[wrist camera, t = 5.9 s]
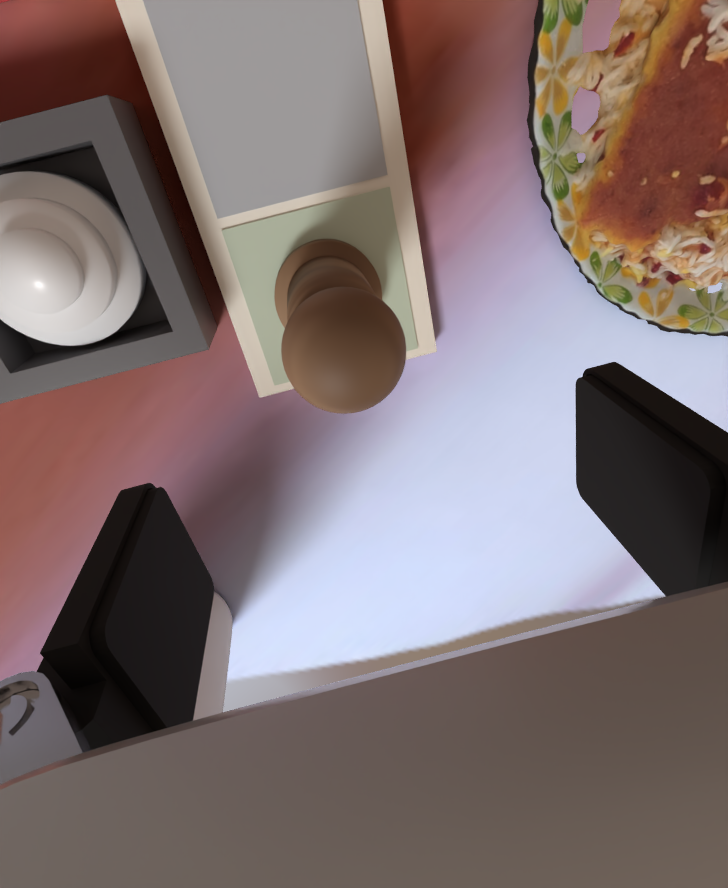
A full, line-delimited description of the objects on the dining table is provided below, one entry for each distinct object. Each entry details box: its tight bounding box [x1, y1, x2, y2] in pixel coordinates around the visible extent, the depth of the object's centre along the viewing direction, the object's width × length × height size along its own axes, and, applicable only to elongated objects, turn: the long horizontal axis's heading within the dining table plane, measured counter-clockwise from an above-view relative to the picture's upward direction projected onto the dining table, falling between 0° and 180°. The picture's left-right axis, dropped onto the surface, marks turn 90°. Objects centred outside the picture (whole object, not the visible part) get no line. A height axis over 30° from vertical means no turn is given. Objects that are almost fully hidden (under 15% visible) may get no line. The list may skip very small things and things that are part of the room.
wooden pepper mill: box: [274, 239, 406, 413], centre depth 21 cm, size 5×5×11 cm
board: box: [115, 0, 437, 398], centre depth 22 cm, size 10×26×1 cm, turn 12°
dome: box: [0, 171, 146, 346], centre depth 21 cm, size 7×7×3 cm
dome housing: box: [0, 95, 217, 404], centre depth 23 cm, size 10×10×4 cm
